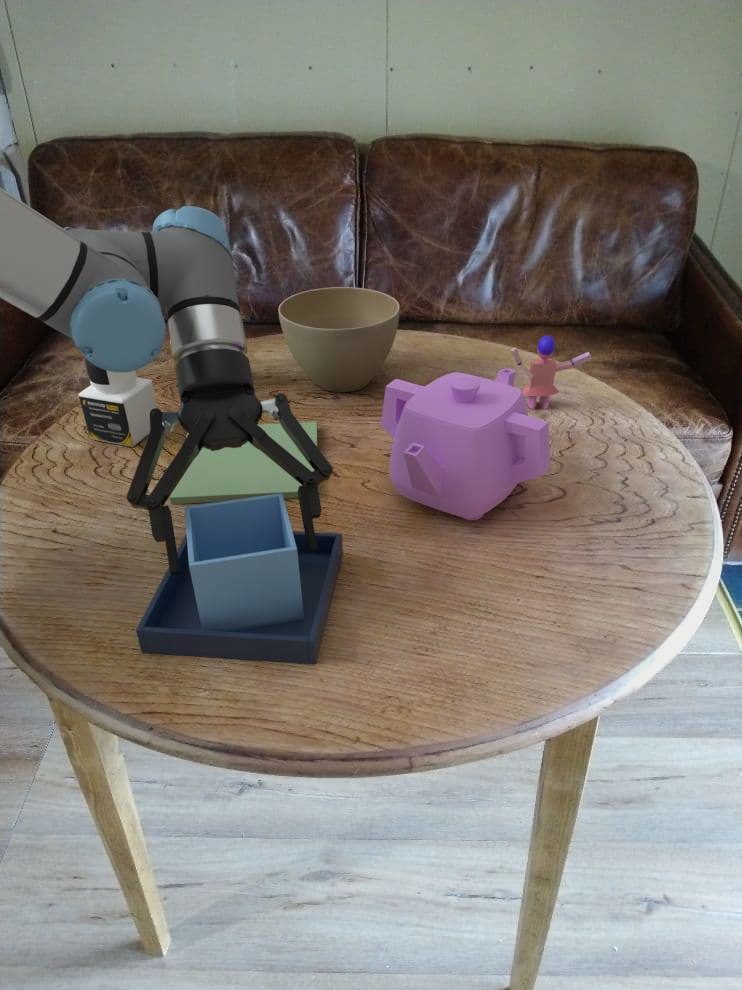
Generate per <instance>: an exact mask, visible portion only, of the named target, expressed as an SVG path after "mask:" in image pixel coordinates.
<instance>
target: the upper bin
mask: <svg viewBox="0 0 742 990" xmlns="http://www.w3.org/2000/svg"><path fill="white" fill-rule="evenodd" d="M184 518H185V531H186V532H185V533H186V534H187V546H188V559H189V568H190V573H191V578H192V583H193V587H194V592H195V597H196V602H197V607H198V612H199V616H200V621H201V626H202V630H204V631H220V632H235V631H241V630H247V629H252V628H258V627H264V626H269V625H275V624H281V623H286V622H292V621H298V620H304V612H303V602H302V593H301V583H300V573H299V563H298V553H297V547H296V543H295V539H294V535H293V531H294V530H293V528H292V524H291V520H290V517H289V513H288V508H287V505H286V500H285V499H284V497H283V493H279V494H272V495H265V496H258V497H251V498H244V499H237V500H230V501H222V502H207V503H200V504H195V505H194V504H193V505H188V506H184Z"/></svg>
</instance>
